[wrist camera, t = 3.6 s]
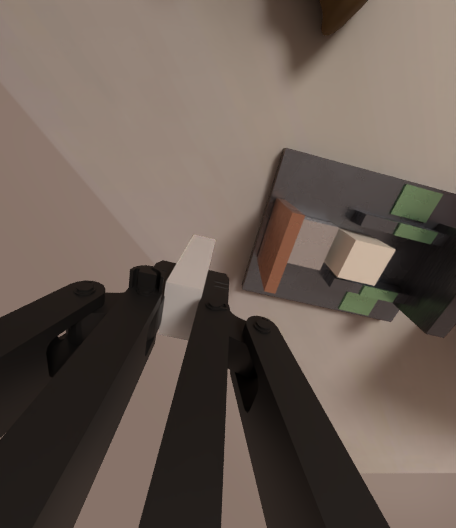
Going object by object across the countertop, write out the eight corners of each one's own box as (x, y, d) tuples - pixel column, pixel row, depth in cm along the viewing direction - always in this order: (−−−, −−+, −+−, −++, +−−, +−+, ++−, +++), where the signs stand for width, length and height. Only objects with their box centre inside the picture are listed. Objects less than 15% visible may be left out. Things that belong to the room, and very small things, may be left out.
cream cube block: (323, 260, 26) (337, 277, 23) (338, 227, 25) (356, 239, 21) (355, 268, 26) (374, 285, 23) (372, 236, 25) (395, 249, 21)
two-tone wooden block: (256, 258, 26) (264, 291, 20) (276, 197, 23) (292, 212, 17) (310, 270, 27) (334, 306, 20) (336, 212, 24) (374, 232, 17)
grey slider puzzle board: (242, 284, 29) (244, 320, 23) (283, 148, 23) (303, 144, 16) (385, 316, 31) (426, 358, 24) (464, 197, 24) (549, 212, 18)
